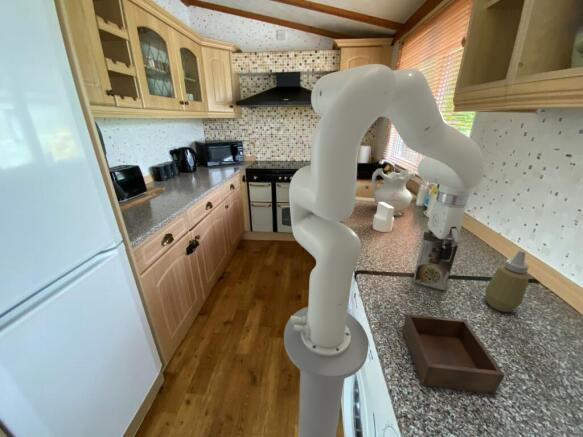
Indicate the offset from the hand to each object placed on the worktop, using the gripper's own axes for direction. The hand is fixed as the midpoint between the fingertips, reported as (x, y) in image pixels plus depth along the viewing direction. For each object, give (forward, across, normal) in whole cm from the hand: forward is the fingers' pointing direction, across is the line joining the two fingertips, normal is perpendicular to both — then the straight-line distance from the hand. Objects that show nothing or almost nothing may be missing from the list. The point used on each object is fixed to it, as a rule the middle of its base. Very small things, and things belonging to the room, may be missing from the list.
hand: (436, 251), depth 76 cm
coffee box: (+12, 0, 0) cm, 12 cm away
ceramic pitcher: (+12, -64, +2) cm, 65 cm away
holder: (+11, +29, -8) cm, 32 cm away
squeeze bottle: (+12, +9, +16) cm, 22 cm away
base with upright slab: (+12, -41, -6) cm, 43 cm away
